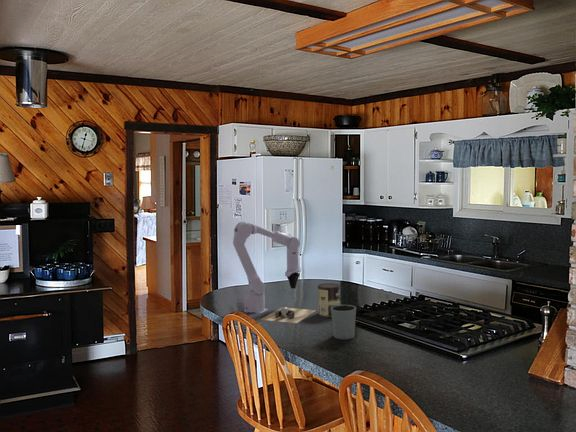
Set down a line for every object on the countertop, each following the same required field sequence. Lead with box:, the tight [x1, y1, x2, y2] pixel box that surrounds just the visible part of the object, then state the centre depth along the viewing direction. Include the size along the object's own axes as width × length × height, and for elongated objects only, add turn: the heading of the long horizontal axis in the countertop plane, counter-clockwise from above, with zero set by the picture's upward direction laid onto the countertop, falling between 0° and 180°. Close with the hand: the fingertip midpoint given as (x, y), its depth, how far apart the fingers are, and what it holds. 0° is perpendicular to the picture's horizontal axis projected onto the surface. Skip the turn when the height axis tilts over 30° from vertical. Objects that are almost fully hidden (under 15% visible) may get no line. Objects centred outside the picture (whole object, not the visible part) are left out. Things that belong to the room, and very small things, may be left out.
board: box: [260, 307, 317, 324], centre depth 267 cm, size 18×24×1 cm
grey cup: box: [331, 304, 357, 340], centre depth 233 cm, size 10×10×12 cm
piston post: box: [280, 306, 289, 318], centre depth 263 cm, size 3×3×4 cm
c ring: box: [274, 310, 295, 319], centre depth 264 cm, size 7×9×2 cm
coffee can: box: [317, 282, 341, 319], centre depth 267 cm, size 10×10×14 cm
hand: (293, 288), depth 282 cm, fingers closed
